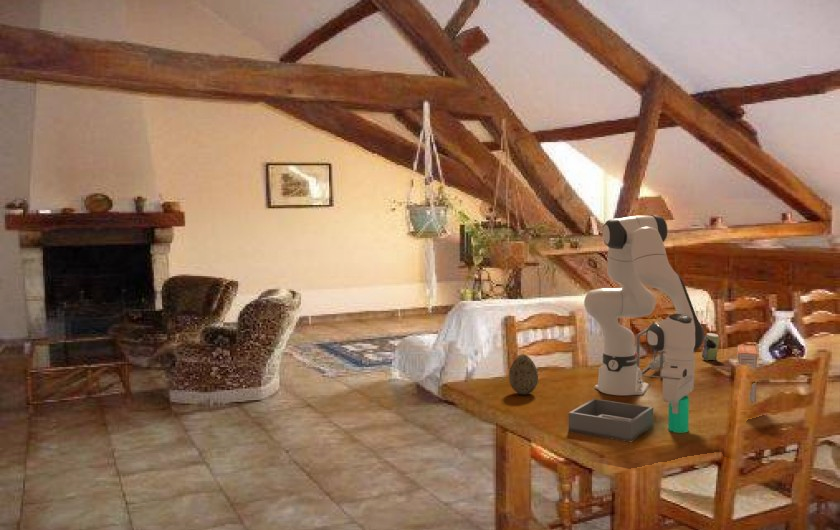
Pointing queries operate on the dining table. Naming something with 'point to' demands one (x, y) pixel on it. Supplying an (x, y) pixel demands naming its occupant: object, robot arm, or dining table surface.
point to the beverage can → (710, 346)
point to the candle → (679, 417)
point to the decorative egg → (523, 375)
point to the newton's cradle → (656, 361)
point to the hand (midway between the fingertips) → (678, 410)
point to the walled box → (611, 419)
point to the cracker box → (749, 357)
